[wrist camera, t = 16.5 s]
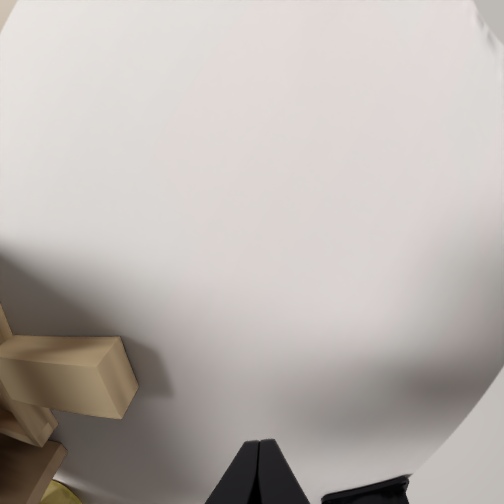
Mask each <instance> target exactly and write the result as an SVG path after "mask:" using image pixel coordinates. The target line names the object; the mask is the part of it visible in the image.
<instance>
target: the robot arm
mask: <svg viewBox="0 0 504 504" xmlns="http://www.w3.org/2000/svg"><path fill="white" fill-rule="evenodd" d="M408 484H409V479H408V477H402V478H399V479H395V480H392V481H388V482H385V483H381V484H377V485H374V486H370V487H366V488H361V489H357V490H353V491H348V492H343V493H338V494H333V495H328V496H324V497H323V498H321V504H409V502H408V499H407V496H406V493H405V492H406V490H407V487H408ZM205 504H310V502H309V501H308V499H307V497H306V496H305V494H304V492H303V490H302V488H301V487H300V485H299V483H298V481H297V480H296V478H295V476H294V474H293V472H292V470H291V469H290V467H289V465H288V463H287V461H286V459H285V458H284V456H283V454H282V452H281V450H280V448H279V446H278V444H277V442H276V441H275V439H264V440H261V441H258V440H253V441H246V442H244V443H243V445H242V447H241V448H240V450H239V451H238V453H237V455H236V456H235V458H234V460H233V461H232V463H231V464H230V466H229V467H228V469H227V471H226V472H225V474H224V475H223V477H222V478H221V480H220V481H219V483H218V484H217V486H216V487H215V489H214V490H213V492H212V493H211V495H210V496H209V498H208V499H207V501H206V502H205Z"/></svg>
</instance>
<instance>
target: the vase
mask: <svg viewBox="0 0 504 504" xmlns="http://www.w3.org/2000/svg"><path fill="white" fill-rule="evenodd" d="M39 504H82V502H81V501H80V500H79V499H78V498H77V496H76V495H75V494H74V493H73V492H71V491H70V490H69V489H68V488H66V487H65V486H63V485H62V484H60V483H58V482H56V481H53V480H51V482H50V484H49V486H48V488H47V489H46V491H45V493H44V495H43V497H42V499H41V500H40V502H39Z"/></svg>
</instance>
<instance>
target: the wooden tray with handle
mask: <svg viewBox="0 0 504 504" xmlns="http://www.w3.org/2000/svg"><path fill="white" fill-rule="evenodd" d="M138 388H139V385H138V383H137V381H136V378H135V376H134V373H133V371H132V368H131V365H130V363H129V360H128V358H127V355H126V352H125V349H124V347H123V344H122V341H121V338H120V336H117V337H61V336H25V335H12V332H11V330H10V327H9V325H8V322H7V320H6V317H5V314H4V312H3V309H2V306H1V303H0V433H2V434H5V435H7V436H10V437H12V438H15V439H18V440H20V441H23V442H26V443H29V444H32V445H35V446H38V447H41V448H42V447H43V445H44V444H45V442H46V441H47V440H48V438H49V437H50V435H51V434H52V432H53V431H54V429H55V428H56V427H57V425H58V422H57V420H56V419H55V417H54V416H53V414H52V412H51V411H50V409H55V410H60V411H66V412H71V413H77V414H83V415H90V416H97V417H104V418H113V419H122V418H123V416H124V414H125V412H126V410H127V408H128V407H129V405H130V403H131V401H132V399H133V397H134V395H135V393H136V392H137V390H138ZM49 408H50V409H49Z"/></svg>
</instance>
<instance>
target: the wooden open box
mask: <svg viewBox="0 0 504 504" xmlns="http://www.w3.org/2000/svg"><path fill="white" fill-rule="evenodd" d="M66 454H67V450H66V449H65V448H64V446H63V445H62V444H61V443H58V442H53V441H49V440H47V441H46V442H45V444H44V445H43V447H42V448H41V447H38V446H35V445H32V444H29V443H26V442H23V441H20V440H18V439H15V438H12V437H10V436H7V435H5V434H2V433H0V504H39V502H40V500H41V499H42V497H43V495H44V493H45V491H46V489H47V488H48V486H49V484H50V482H51V480H52V479H53V477H54V475H55V473H56V471H57V470H58V468H59V466H60V464H61V463H62V461H63V459H64V457H65V456H66Z"/></svg>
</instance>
